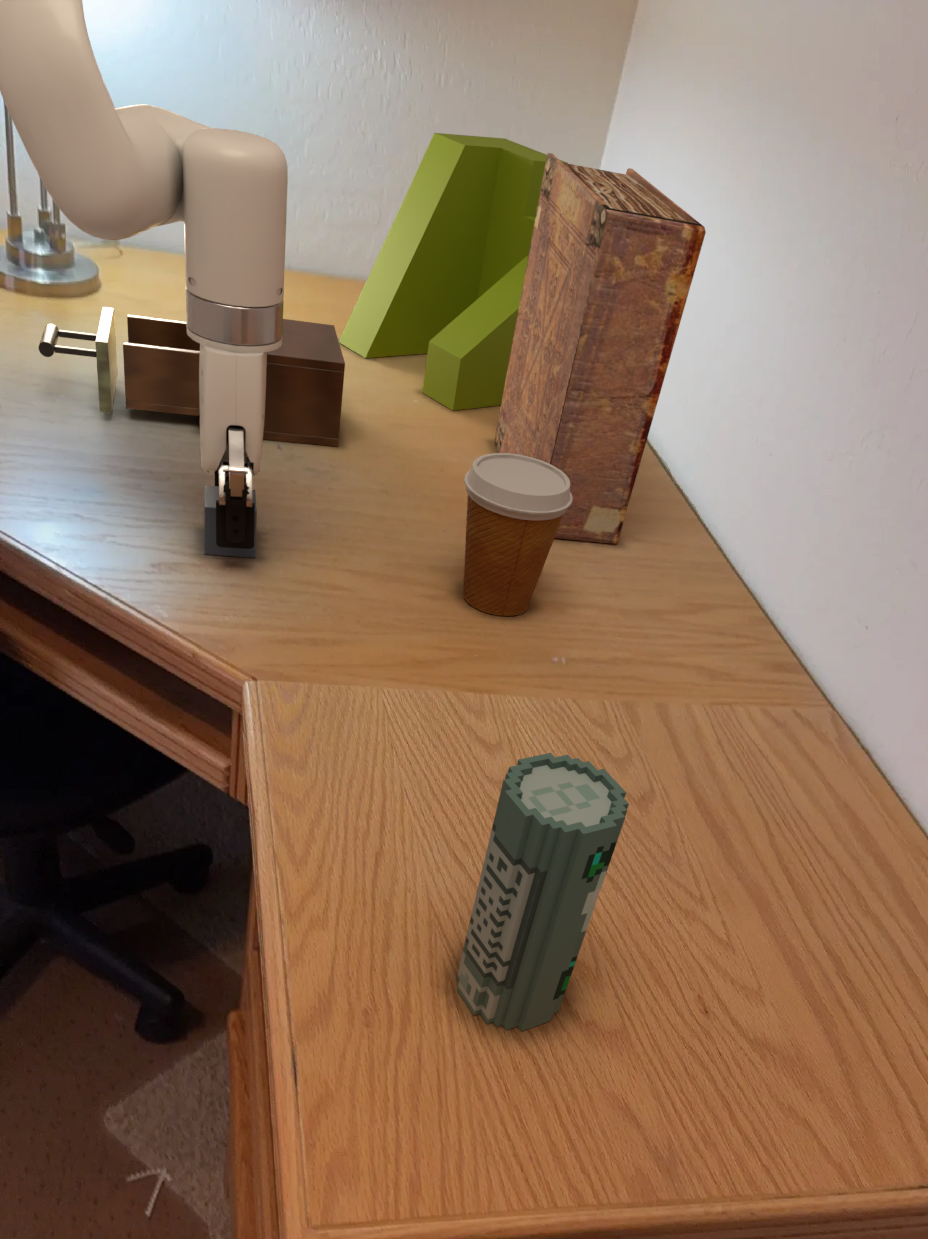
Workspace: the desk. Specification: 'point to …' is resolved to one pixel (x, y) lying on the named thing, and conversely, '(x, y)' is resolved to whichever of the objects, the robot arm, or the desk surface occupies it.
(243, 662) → the desk surface
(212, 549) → the block
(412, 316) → the book holder
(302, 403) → the cabinet
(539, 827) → the can
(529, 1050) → the desk surface
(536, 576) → the disposable coffee cup
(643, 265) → the book
